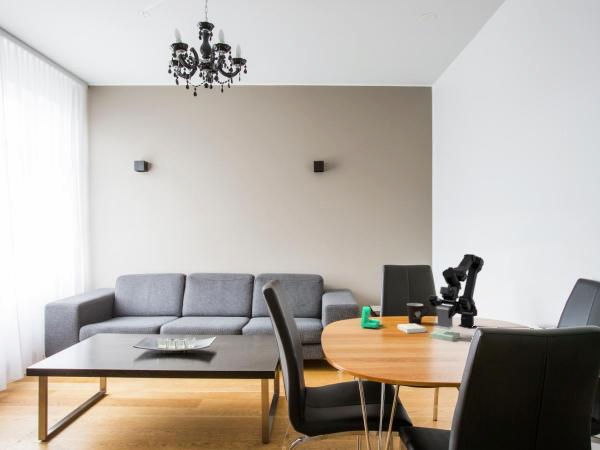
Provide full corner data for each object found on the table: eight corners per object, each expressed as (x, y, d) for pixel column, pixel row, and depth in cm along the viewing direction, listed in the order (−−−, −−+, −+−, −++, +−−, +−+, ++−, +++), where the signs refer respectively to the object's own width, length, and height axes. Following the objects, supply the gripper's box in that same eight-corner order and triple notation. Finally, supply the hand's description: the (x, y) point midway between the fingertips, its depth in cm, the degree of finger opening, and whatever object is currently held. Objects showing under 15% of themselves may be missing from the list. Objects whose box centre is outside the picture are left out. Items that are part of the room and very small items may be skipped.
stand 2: (439, 333, 190) (439, 329, 191) (459, 337, 184) (459, 332, 184) (430, 337, 183) (430, 333, 183) (451, 341, 176) (451, 337, 176)
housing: (441, 325, 187) (441, 304, 188) (453, 327, 184) (453, 306, 184) (436, 327, 183) (436, 306, 184) (448, 329, 180) (448, 307, 180)
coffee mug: (406, 324, 210) (406, 305, 210) (407, 320, 219) (407, 302, 219) (429, 325, 207) (429, 306, 207) (429, 322, 215) (428, 303, 215)
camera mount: (375, 329, 199) (375, 309, 199) (360, 328, 202) (360, 308, 202) (380, 324, 210) (380, 305, 210) (366, 323, 213) (366, 304, 213)
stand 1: (415, 327, 203) (415, 323, 203) (425, 332, 193) (425, 327, 194) (397, 328, 201) (397, 324, 201) (407, 333, 191) (407, 329, 191)
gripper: (429, 278, 193) (419, 304, 185) (468, 281, 181) (459, 309, 172) (436, 292, 199) (426, 318, 191) (474, 296, 186) (466, 324, 178)
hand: (443, 317), depth 183 cm, fingers closed on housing, 5 cm apart
